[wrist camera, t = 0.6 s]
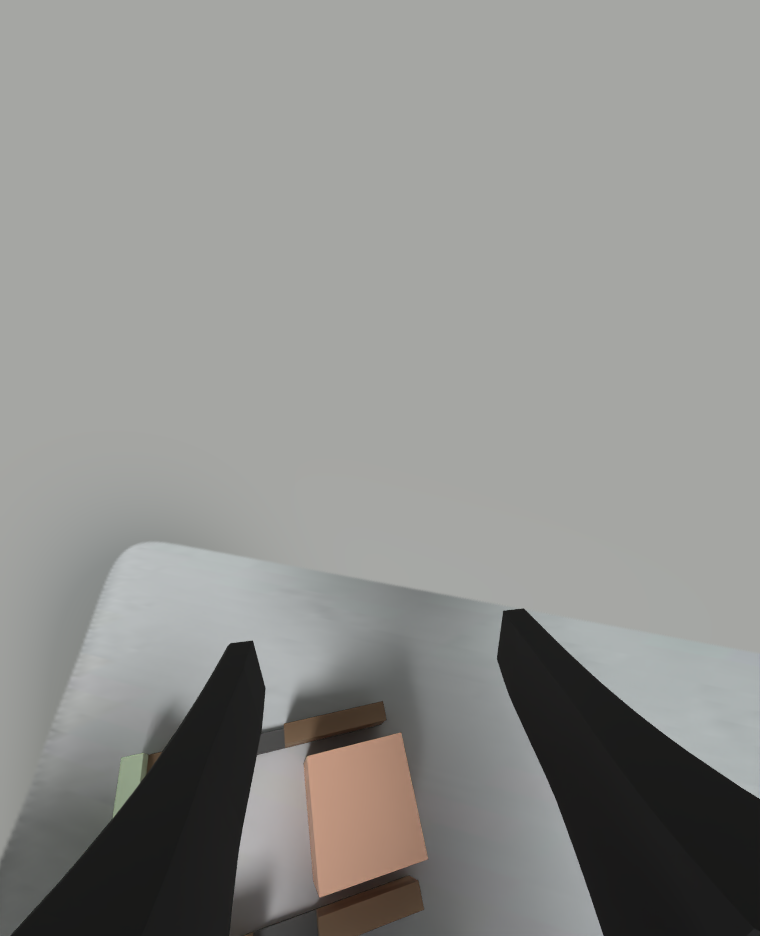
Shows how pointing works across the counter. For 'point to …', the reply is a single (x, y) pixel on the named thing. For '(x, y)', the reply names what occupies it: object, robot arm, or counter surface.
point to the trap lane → (337, 924)
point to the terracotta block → (361, 813)
